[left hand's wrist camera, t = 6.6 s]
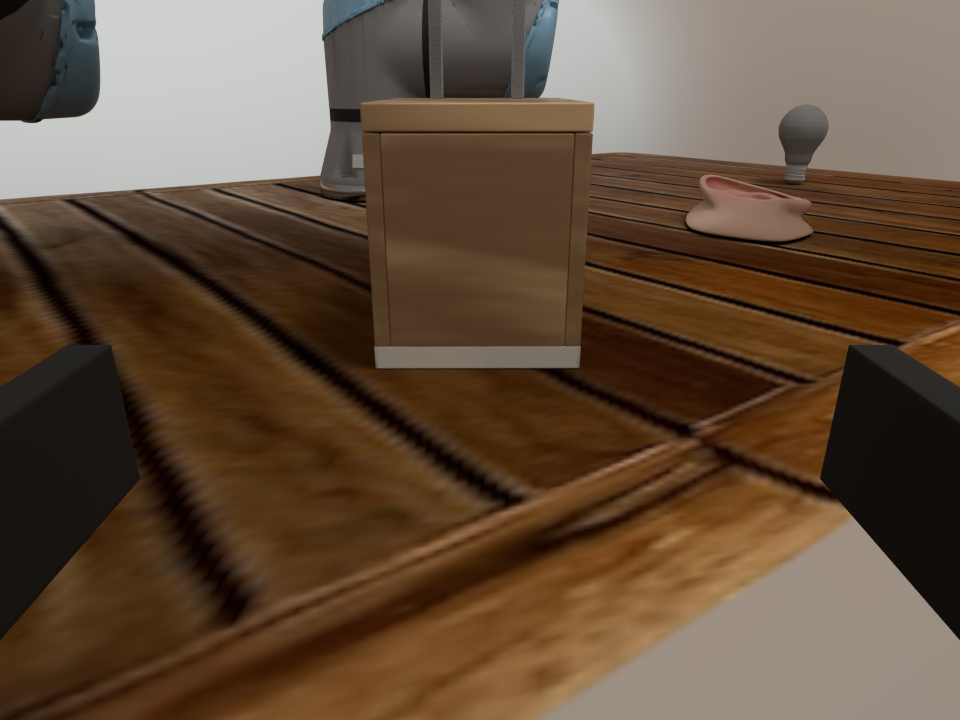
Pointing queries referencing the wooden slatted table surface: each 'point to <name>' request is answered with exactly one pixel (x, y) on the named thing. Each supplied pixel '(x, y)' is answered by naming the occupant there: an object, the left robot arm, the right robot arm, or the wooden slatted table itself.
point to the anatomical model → (748, 211)
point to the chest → (477, 247)
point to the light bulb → (801, 138)
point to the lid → (477, 111)
